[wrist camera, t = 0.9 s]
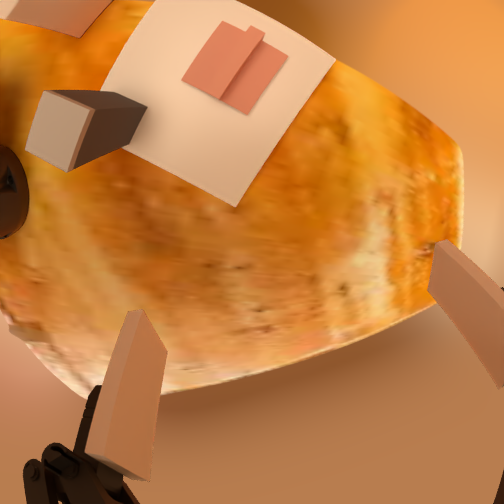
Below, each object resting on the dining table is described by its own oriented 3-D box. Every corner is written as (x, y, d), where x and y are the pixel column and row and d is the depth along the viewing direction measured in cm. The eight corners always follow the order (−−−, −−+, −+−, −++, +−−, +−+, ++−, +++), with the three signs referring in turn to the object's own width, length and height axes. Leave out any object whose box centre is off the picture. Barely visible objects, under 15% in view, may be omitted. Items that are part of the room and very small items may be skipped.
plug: (97, 128, 25) (24, 149, 14) (114, 91, 23) (43, 90, 12) (129, 144, 26) (67, 172, 15) (147, 106, 24) (89, 110, 13)
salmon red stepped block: (182, 81, 23) (174, 76, 20) (222, 23, 20) (221, 10, 17) (246, 115, 26) (248, 115, 22) (286, 57, 23) (295, 50, 19)
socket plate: (96, 126, 28) (83, 129, 25) (179, -12, 20) (174, -23, 17) (235, 197, 34) (235, 207, 31) (326, 63, 26) (336, 59, 23)
